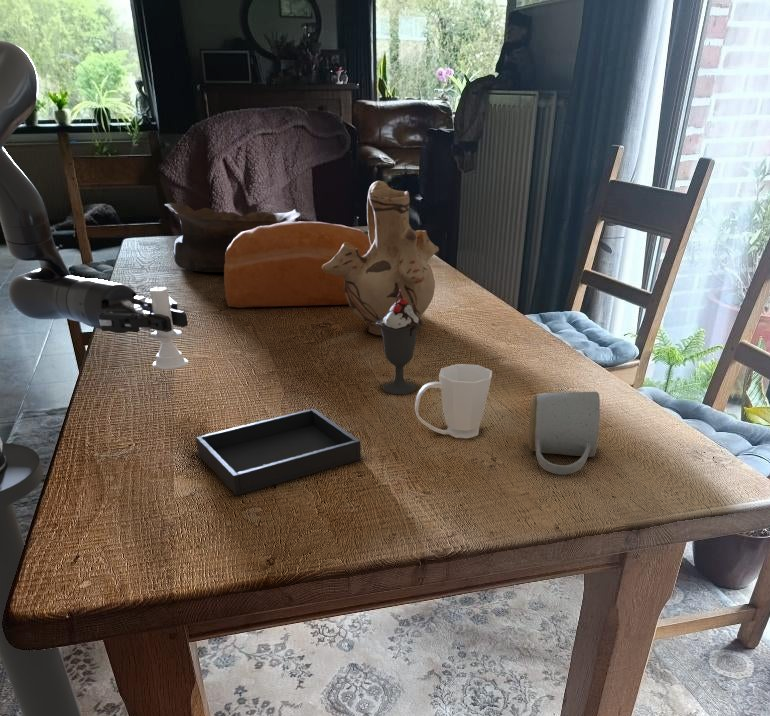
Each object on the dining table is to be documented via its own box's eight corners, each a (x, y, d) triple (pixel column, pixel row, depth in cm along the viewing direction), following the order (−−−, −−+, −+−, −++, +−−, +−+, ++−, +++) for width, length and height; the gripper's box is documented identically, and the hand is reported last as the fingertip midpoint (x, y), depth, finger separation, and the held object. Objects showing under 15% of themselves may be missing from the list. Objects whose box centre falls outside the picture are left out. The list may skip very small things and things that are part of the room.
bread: (231, 293, 157) (222, 218, 149) (379, 289, 158) (378, 215, 150) (223, 310, 145) (213, 229, 137) (383, 305, 147) (382, 225, 139)
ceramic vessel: (324, 339, 127) (316, 187, 114) (363, 312, 143) (360, 175, 130) (420, 350, 122) (423, 192, 109) (450, 320, 137) (456, 178, 124)
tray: (236, 496, 79) (233, 476, 77) (198, 455, 88) (195, 436, 86) (361, 459, 86) (360, 440, 85) (314, 425, 95) (313, 408, 94)
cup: (497, 440, 90) (502, 379, 86) (421, 447, 89) (422, 386, 85) (480, 418, 96) (483, 361, 92) (408, 425, 95) (408, 367, 90)
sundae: (393, 400, 102) (393, 295, 95) (369, 386, 107) (366, 285, 99) (430, 390, 105) (433, 288, 98) (404, 377, 110) (405, 279, 102)
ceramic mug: (526, 436, 91) (531, 379, 87) (591, 440, 90) (600, 382, 86) (525, 475, 82) (531, 414, 78) (597, 480, 81) (608, 419, 77)
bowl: (191, 258, 198) (186, 200, 191) (309, 264, 197) (309, 206, 191) (149, 275, 167) (143, 205, 160) (290, 282, 166) (289, 213, 160)
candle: (146, 364, 109) (131, 284, 103) (176, 356, 112) (164, 278, 106) (164, 372, 106) (150, 291, 100) (195, 364, 109) (183, 284, 103)
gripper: (58, 289, 106) (134, 306, 97) (134, 272, 116) (209, 286, 107) (70, 339, 110) (143, 359, 101) (143, 318, 119) (215, 335, 111)
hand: (177, 322), depth 104 cm, fingers closed on candle, 2 cm apart
